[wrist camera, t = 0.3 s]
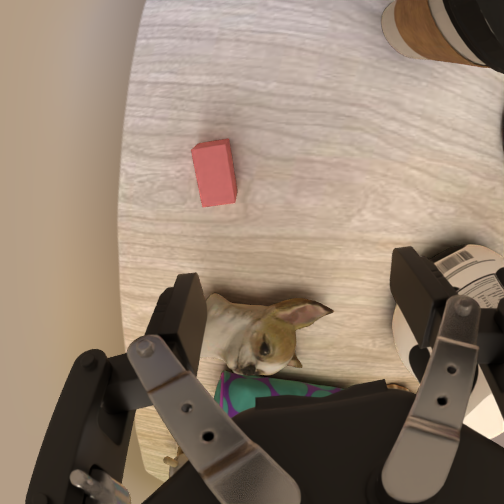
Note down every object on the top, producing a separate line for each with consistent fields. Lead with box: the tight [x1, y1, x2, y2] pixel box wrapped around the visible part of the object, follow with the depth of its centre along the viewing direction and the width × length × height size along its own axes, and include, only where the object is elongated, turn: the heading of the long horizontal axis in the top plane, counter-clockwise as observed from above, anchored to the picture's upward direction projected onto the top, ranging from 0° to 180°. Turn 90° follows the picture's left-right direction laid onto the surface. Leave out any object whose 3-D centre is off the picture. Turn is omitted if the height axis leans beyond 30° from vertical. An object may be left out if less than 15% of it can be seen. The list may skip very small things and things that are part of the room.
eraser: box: [191, 139, 237, 207], centre depth 26 cm, size 5×3×3 cm, turn 8°
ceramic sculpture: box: [200, 293, 334, 376], centre depth 32 cm, size 11×9×15 cm
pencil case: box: [214, 371, 343, 418], centre depth 38 cm, size 21×9×10 cm, turn 73°
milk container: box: [392, 244, 504, 439], centre depth 26 cm, size 17×17×18 cm
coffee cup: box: [381, 0, 504, 74], centre depth 14 cm, size 8×8×15 cm
